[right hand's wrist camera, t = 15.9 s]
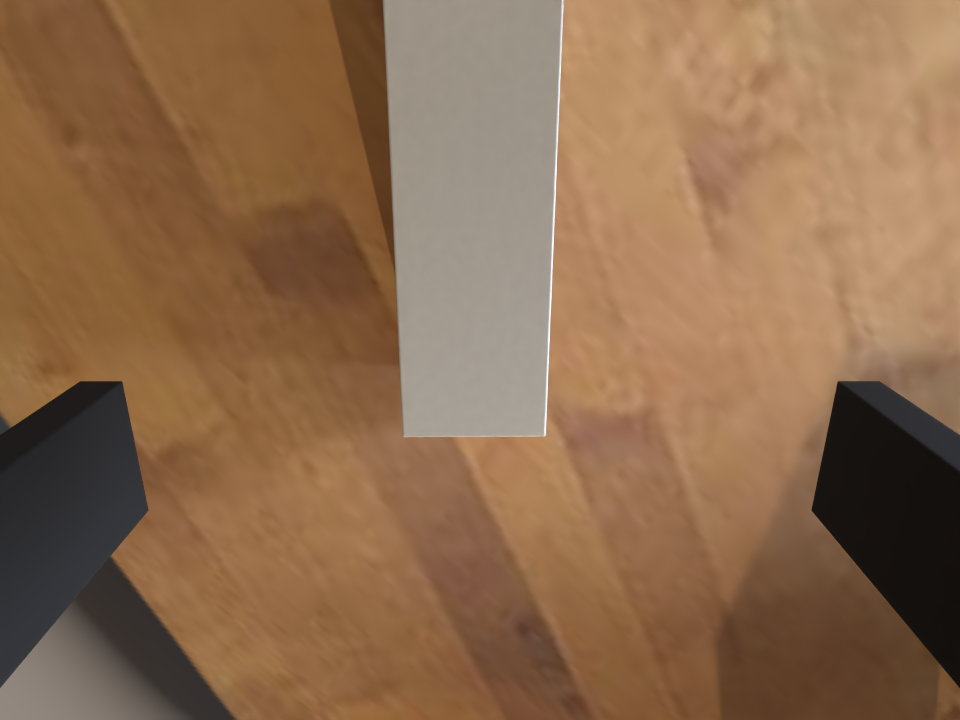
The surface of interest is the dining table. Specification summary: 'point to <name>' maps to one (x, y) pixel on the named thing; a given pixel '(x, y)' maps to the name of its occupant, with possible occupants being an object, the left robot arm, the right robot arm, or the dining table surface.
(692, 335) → the dining table surface
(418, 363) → the post
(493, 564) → the dining table surface
